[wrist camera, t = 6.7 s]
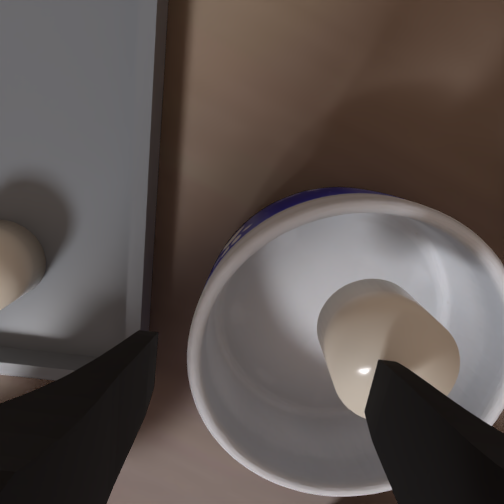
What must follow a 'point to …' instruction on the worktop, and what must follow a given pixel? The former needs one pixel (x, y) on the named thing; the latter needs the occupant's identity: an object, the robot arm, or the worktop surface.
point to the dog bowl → (305, 329)
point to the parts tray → (80, 173)
